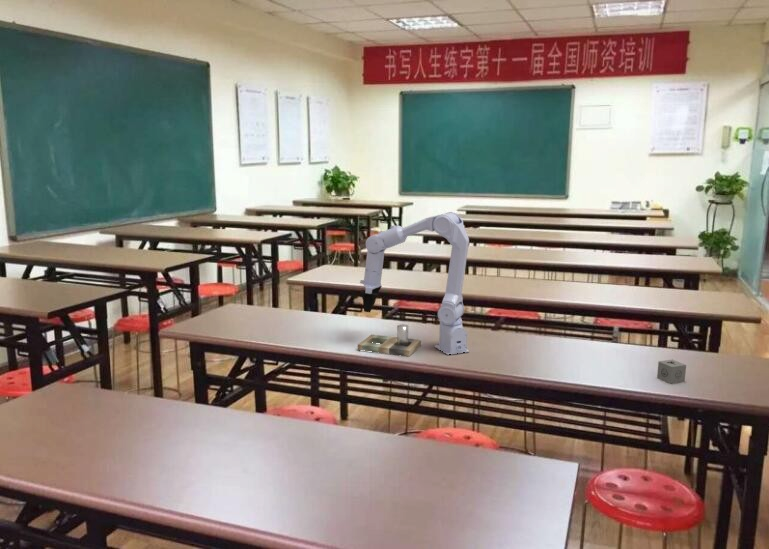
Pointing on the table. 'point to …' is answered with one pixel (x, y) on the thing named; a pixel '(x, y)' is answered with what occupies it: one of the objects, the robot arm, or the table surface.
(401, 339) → the metal cylinder
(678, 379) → the dice cube
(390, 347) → the tool stand
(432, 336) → the table surface
